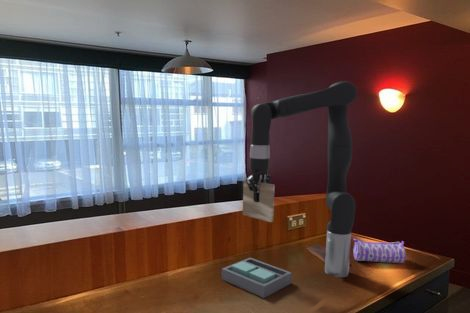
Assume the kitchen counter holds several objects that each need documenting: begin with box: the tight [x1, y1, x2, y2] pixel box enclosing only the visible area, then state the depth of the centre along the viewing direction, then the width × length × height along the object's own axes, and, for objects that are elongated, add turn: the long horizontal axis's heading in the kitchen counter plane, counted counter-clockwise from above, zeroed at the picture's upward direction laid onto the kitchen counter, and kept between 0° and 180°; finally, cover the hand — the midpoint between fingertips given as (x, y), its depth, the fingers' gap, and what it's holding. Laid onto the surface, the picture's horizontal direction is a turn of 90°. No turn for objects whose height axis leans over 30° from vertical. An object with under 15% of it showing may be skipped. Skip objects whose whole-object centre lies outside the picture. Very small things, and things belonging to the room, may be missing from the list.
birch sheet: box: [242, 179, 275, 223], centre depth 144 cm, size 2×14×14 cm, turn 47°
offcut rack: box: [221, 257, 293, 299], centre depth 138 cm, size 16×20×5 cm
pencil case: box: [352, 237, 407, 264], centre depth 163 cm, size 22×9×10 cm, turn 90°
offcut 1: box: [231, 260, 256, 278], centre depth 139 cm, size 6×7×5 cm
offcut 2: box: [249, 268, 275, 284], centre depth 133 cm, size 6×7×5 cm
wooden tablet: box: [306, 244, 352, 267], centre depth 169 cm, size 26×2×10 cm
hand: (258, 201), depth 144 cm, fingers closed on birch sheet, 1 cm apart
